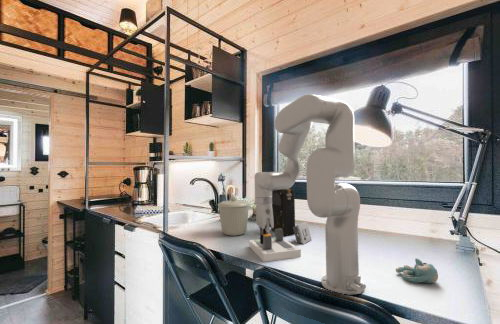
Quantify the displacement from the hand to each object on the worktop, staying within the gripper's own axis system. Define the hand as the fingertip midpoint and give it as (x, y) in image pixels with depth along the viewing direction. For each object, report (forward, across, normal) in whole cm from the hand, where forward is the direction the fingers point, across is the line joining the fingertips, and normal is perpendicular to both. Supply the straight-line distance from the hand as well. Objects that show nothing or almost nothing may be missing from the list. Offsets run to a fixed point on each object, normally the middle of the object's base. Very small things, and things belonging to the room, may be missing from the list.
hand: (264, 243), depth 111 cm
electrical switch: (+4, +10, -23) cm, 26 cm away
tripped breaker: (+1, -4, 0) cm, 4 cm away
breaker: (+1, +5, -9) cm, 10 cm away
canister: (+4, +37, +5) cm, 37 cm away
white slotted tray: (+4, +1, -4) cm, 6 cm away
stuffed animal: (+5, -40, -38) cm, 55 cm away
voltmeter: (+4, +29, -21) cm, 36 cm away
